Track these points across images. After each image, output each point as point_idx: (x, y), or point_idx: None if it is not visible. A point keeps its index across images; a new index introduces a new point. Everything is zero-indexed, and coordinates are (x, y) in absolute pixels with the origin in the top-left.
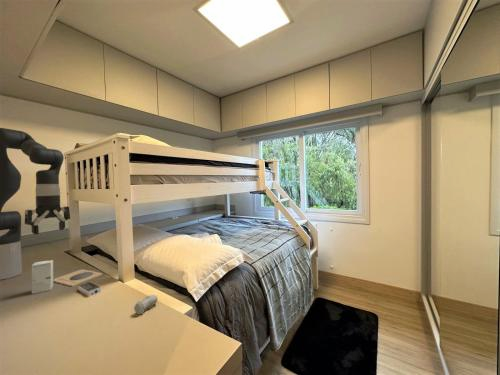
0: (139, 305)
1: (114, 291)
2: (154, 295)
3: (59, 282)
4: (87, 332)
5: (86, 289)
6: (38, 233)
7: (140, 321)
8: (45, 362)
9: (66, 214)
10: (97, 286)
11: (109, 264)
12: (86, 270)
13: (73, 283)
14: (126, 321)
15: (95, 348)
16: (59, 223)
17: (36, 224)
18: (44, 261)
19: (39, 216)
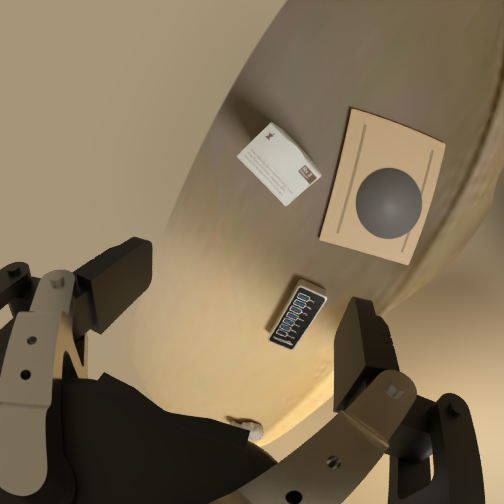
0: None
1: (296, 367)
2: (256, 439)
3: (339, 164)
4: (186, 388)
5: (278, 327)
6: (147, 287)
7: None
8: (145, 376)
9: (390, 502)
10: (296, 340)
11: (487, 212)
12: (436, 175)
13: (332, 231)
14: (217, 414)
15: (174, 404)
16: (358, 354)
17: (80, 337)
18: (288, 161)
19: (42, 371)
